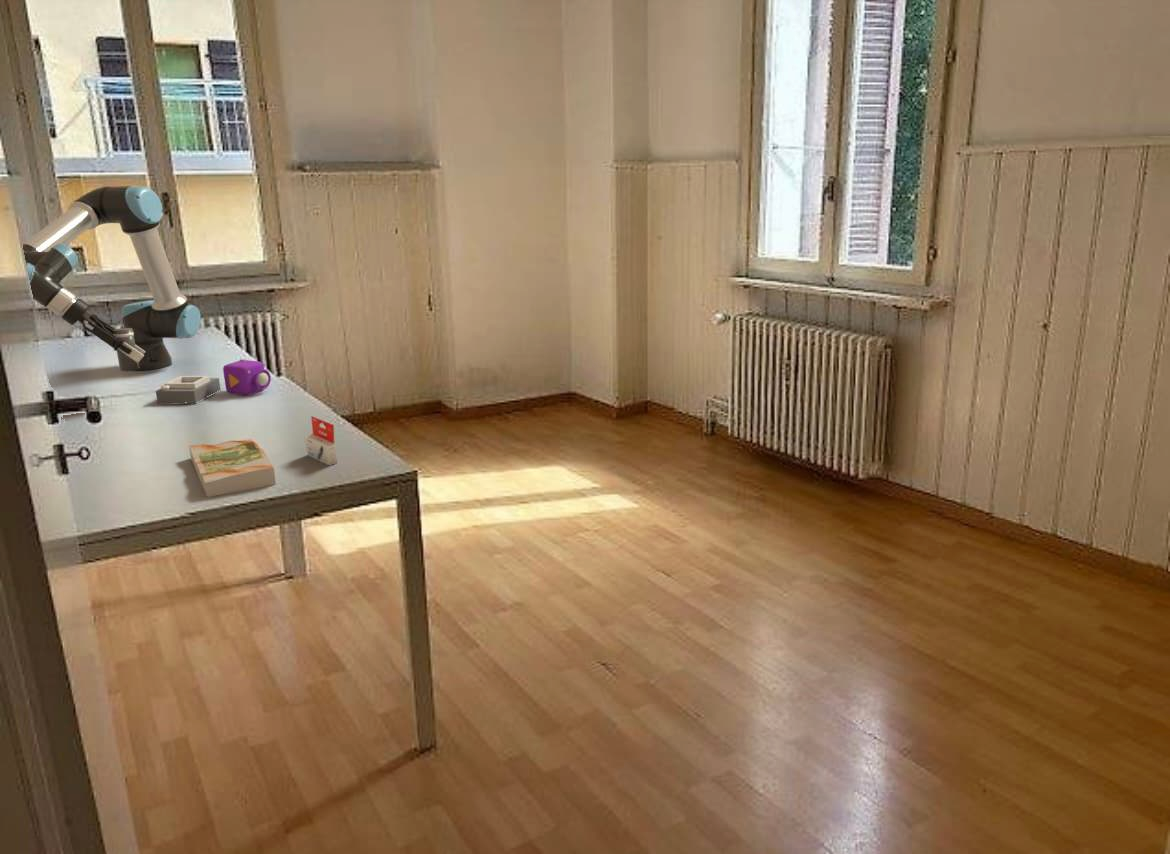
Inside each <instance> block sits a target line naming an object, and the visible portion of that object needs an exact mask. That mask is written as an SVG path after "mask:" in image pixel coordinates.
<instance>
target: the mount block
mask: <svg viewBox="0 0 1170 854" xmlns="http://www.w3.org/2000/svg"><path fill="white" fill-rule="evenodd" d="M219 390H220V391H221V383H220V378H219V377H217V378H216V377H211V376H210V375H179V376H177V377H175V378H174V379H171V380H169V381H167V382H164V385H161V386H160V388H159V389H157V390H155V395H156V402H157V404H158V403H185V402H187V403H196V402H198V401H200V400H202V399H204V398H206V397H207V396H209V395H211V394H213V393H215V392H217V391H218V392H220V391H219ZM218 392H217V393H218ZM215 394H216V393H215ZM213 395H214V394H213ZM211 396H212V395H211ZM209 397H210V396H209ZM206 399H207V398H206ZM204 400H205V399H204ZM202 401H203V400H202ZM200 402H201V401H200Z"/></svg>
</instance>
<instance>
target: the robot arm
mask: <svg viewBox="0 0 1170 854" xmlns="http://www.w3.org/2000/svg"><path fill="white" fill-rule="evenodd" d="M162 211H163V205H162V202H161V200H160V198H159V195H158V194H156V192H155V191H154V190H152V189H151V188H149V187H147V186H138V185H125V186H123V185H122V186H101V187H98V188H95V189H93V190H90V191H89V192H87V193H85V194H83V195H81V196H80V197H79V198H76V200H74V201H72V202H71V203H70V204H69V205H68V210H66V211H65V212H64V213H62V214H61V215H60V216H58V217H57V218H56V219H54V220H53V221H51V222H50V223H48V224H47V225H46V226H45V227H44V228H42V229H41V230H39V231H38V232H36V233H35V234H34V235H32V236H31V237H30V238H28V239H27V240H25V242H23V243H22V244H23V250H24V255H25V260H26V265H27V269H28V275H29V280H30V285H31V290H32V294H33V298H32V299H33V300H34V301H36V302H37V303H39V304H40V305H42V306H43V307H45V308H46V309H48V312H49V313H51V314H52V313H54V314H55V315H56V316H61V319H62V320H63V321H65V322H66V323H68V324H69V325H71V326H74V325H75V324H77V322H79V323H81V324H82V326H83V329H84V330H86V331H88V332H89V333H90V334H92V335H94V336H95V337H97V338H98V339H99V340H101V341H102V342H104V343H105V344H107V345H108V346H110V347H111V348H112V349H113V351H115V352H117V349H118V350H120V351H121V352H123V353H124V354H126V355H127V356H129V357H130V358H132V359H133V360H135V361H136V362H137V363H139V369H137V370H136V371H149V370H150V371H151V370H156V369H161V368H163V369H164V368H166V367H169V366H172V364H173V361H172V356H171V354H170V353H169V351H168V349H167V347H166V345H165V344H164V339H180V340H182V339H183V340H184V339H191V338H193V337H194V336H195V335H196V334H197V333H198V331H199V329H200V326H201V322H202V320H201V312H200V310H199V308H198V307H197V306H195V305H193V304H190V303H189V301H188V298H187V296H185V295H183V294H182V293H181V291H180V289H179V287H178V284H177V281H176V279H175V276H174V272H173V270H172V268H171V264H170V261H169V259H168V257H167V254H166V253H167V252H166V250H165V248H164V246H163V242H162V240H161V237H160V234H159V231H158V228H159V227H160V225H161V223H160V221H161V220H162V217H163V212H162ZM104 224H105V225H106V224H119V226H120V227H121V231H122V233H124V234H125V235H128V236H129V237H130V241H131V243H132V246H133V248H134V251H135V254H136V257H137V258H138V260H139V263H140V265H141V269H142V272H143V274H144V277H145V279H146V282H147V284H148V287H149V290H150V292H151V295H152V297H153V299H149V300H145V301H144V300H143V301H142V300H141V301H138V302H133V303H128V304H125V305H123V306H122V307H121V319H122V324H123V328H132V329H133V333H134V340H135V346H136V349H134V348H133V347H131V346H130V345H128V344H127V343H125V342H124V343H123V342H122V341H121V340H120V339H118V338H117V337H116V336H114V335H113V330H115V329H116V328H115V327H113V326H112V325H110V324H109V323H107V322H106V321H105V320H103V319H102V318H100V316H98V315H97V314H94V313H93V314H91V313H89V312H87V310H89V308H90V305H89V303H88V302H86V301H85V300H83V299H81V298H77V295H76V294H74V293H73V292H72V291H70V290H69V289H68V288H66V287H64V286H63V285H61V284H60V283H61V282H62V280H64V279H65V278H66V277H67V276H68V275H69V274H70V272H72V271H73V270H74V267H75V266H76V265H78V262H79V257H78V255H77V253H76V252H75V250H74V249H73V248H72V247H69V246H68V245H69V244H71V243H72V242H73V241H74V240H76V239H77V238H78V237H79V236H81V235H82V234H83V233H84V232H86V231H87V230H94V229H96V228H97V227H98V226H101V225H104Z"/></svg>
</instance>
